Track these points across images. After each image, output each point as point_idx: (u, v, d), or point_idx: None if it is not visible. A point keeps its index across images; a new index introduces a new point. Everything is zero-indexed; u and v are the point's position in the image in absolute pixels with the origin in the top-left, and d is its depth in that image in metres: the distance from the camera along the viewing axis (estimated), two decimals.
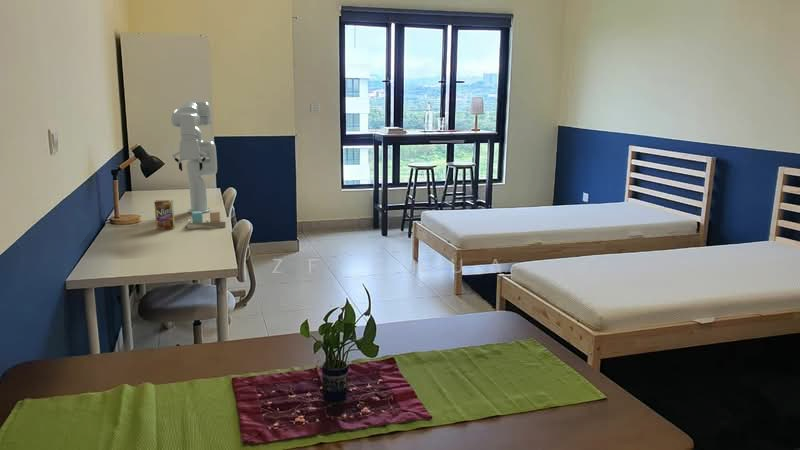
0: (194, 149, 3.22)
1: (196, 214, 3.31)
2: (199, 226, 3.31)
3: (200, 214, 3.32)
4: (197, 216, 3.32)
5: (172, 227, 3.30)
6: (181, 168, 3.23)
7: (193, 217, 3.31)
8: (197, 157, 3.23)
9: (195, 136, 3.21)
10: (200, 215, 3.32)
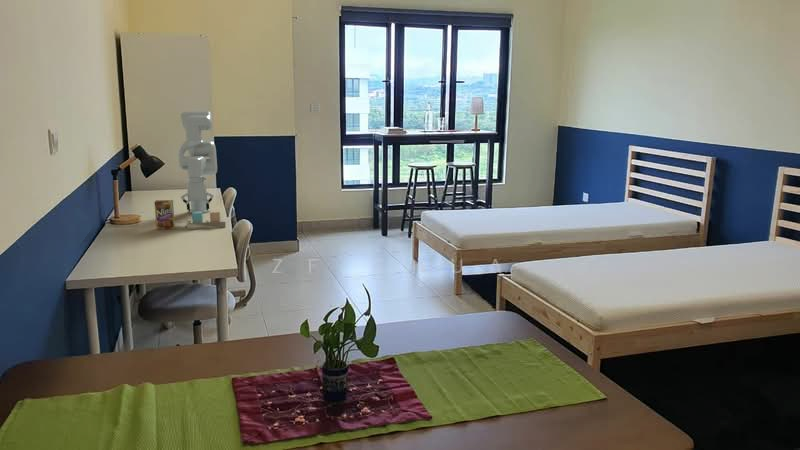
0: (201, 191, 3.40)
1: (196, 214, 3.31)
2: (199, 226, 3.31)
3: (200, 214, 3.32)
4: (197, 216, 3.32)
5: (172, 227, 3.30)
6: (189, 209, 3.41)
7: (193, 217, 3.31)
8: (204, 198, 3.41)
9: (202, 178, 3.40)
10: (200, 215, 3.32)
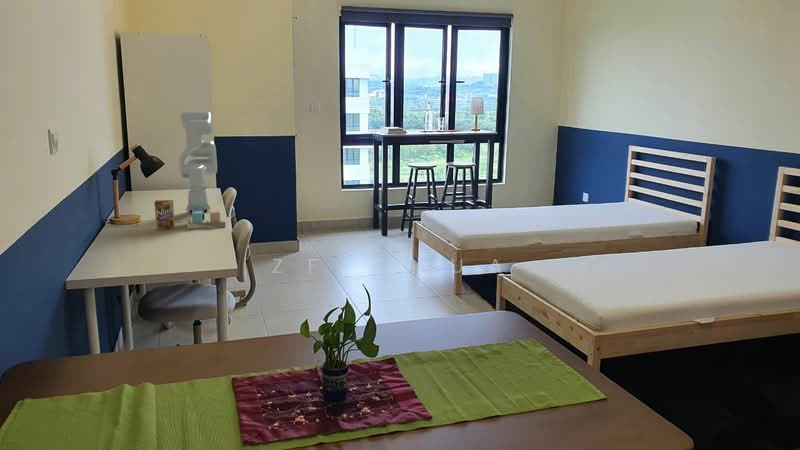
0: (202, 199, 3.42)
1: (196, 214, 3.31)
2: (199, 226, 3.31)
3: (200, 214, 3.32)
4: (197, 216, 3.32)
5: (172, 227, 3.30)
6: None
7: (193, 217, 3.31)
8: (205, 207, 3.43)
9: (203, 187, 3.41)
10: (200, 215, 3.32)
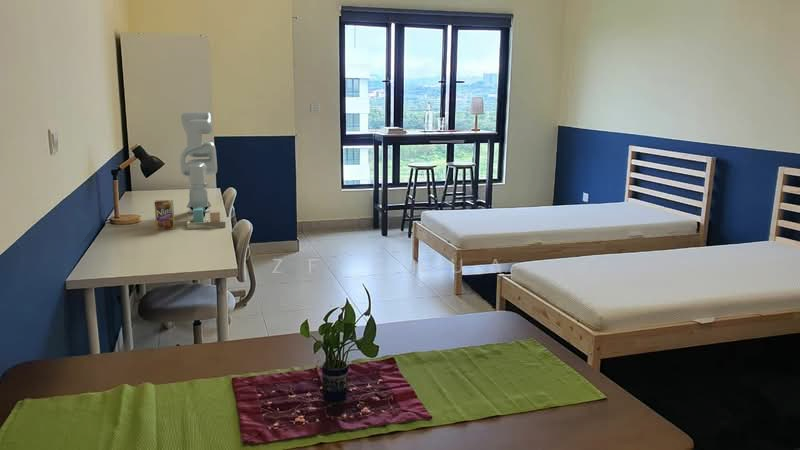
0: (202, 197, 3.50)
1: (197, 211, 3.39)
2: (199, 226, 3.31)
3: (201, 211, 3.40)
4: (198, 213, 3.40)
5: (172, 227, 3.30)
6: None
7: (194, 214, 3.39)
8: (205, 204, 3.51)
9: (203, 185, 3.49)
10: (201, 212, 3.40)
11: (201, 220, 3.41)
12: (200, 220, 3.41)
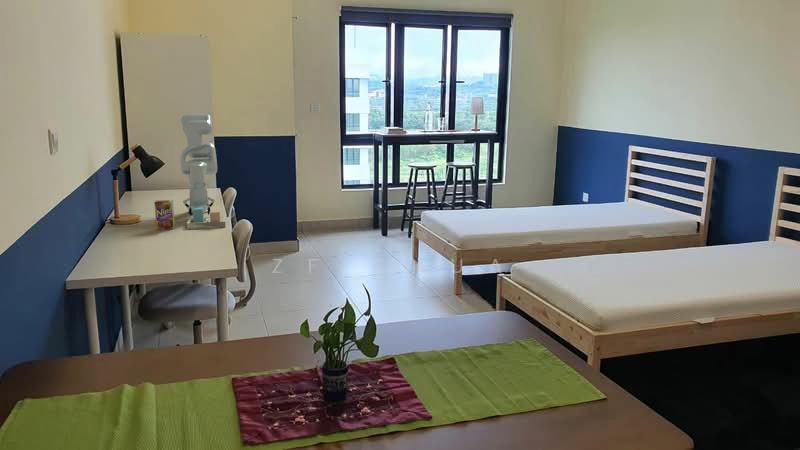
0: (203, 196, 3.52)
1: (197, 210, 3.42)
2: (199, 226, 3.31)
3: (201, 210, 3.42)
4: (198, 212, 3.42)
5: (172, 227, 3.30)
6: (191, 213, 3.53)
7: (195, 213, 3.42)
8: (205, 203, 3.54)
9: (204, 184, 3.52)
10: (201, 211, 3.42)
11: (201, 219, 3.43)
12: (200, 219, 3.43)
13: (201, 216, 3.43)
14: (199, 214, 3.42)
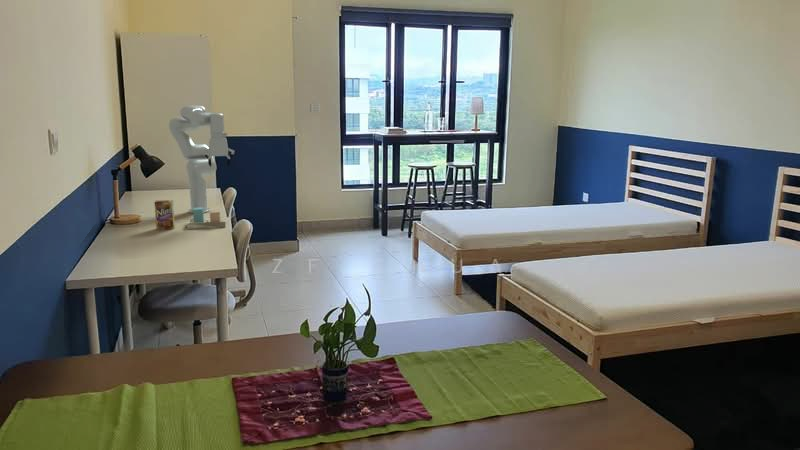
0: (223, 146, 3.45)
1: (197, 210, 3.42)
2: (199, 226, 3.31)
3: (201, 210, 3.42)
4: (198, 212, 3.42)
5: (172, 227, 3.30)
6: (210, 164, 3.46)
7: (195, 213, 3.42)
8: (225, 154, 3.47)
9: (224, 134, 3.45)
10: (201, 211, 3.42)
11: (201, 219, 3.43)
12: (200, 219, 3.43)
13: (201, 216, 3.43)
14: (199, 214, 3.42)
